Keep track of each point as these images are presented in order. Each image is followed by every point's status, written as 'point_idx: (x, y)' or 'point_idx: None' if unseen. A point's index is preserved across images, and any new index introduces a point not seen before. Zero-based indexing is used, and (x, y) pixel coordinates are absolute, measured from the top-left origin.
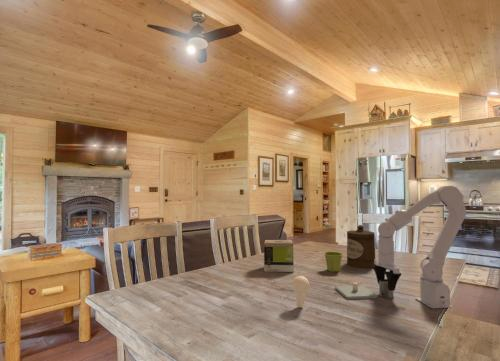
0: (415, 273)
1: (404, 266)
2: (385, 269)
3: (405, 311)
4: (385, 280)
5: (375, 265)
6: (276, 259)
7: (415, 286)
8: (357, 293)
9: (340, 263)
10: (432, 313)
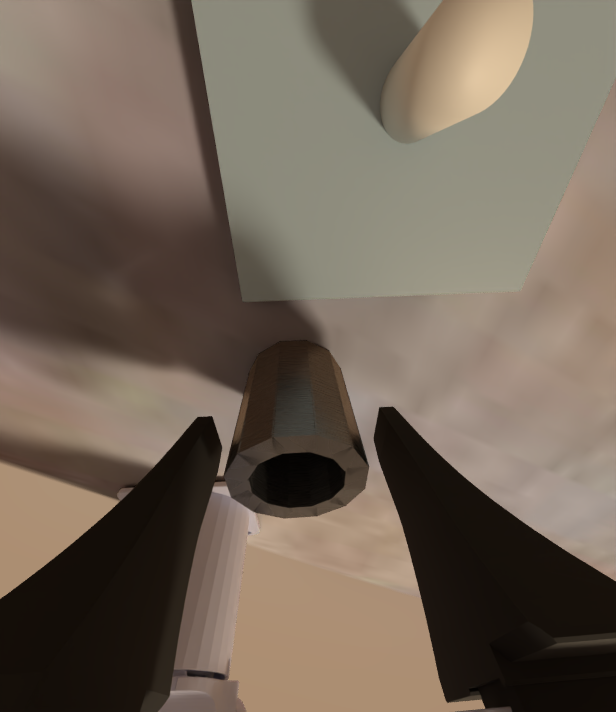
0: None
1: (605, 564)
2: (432, 620)
3: (8, 367)
4: (339, 477)
5: (613, 652)
6: None
7: (402, 526)
8: (307, 73)
9: None
10: (52, 467)
